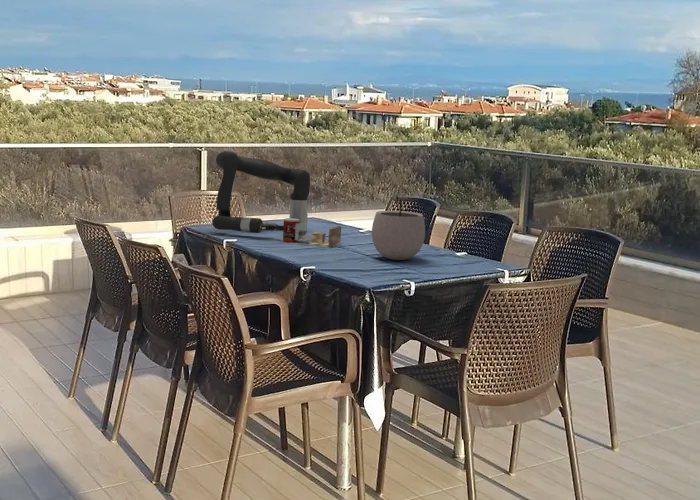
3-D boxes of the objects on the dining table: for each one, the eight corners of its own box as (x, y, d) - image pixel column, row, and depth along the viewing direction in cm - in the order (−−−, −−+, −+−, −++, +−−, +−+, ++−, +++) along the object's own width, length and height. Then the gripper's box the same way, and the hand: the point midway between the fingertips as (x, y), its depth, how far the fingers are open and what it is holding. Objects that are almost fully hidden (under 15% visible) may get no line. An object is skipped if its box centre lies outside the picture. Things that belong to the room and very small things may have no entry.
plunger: (294, 240, 397) (295, 223, 396) (301, 237, 406) (301, 221, 405) (318, 242, 394) (319, 226, 393) (324, 240, 403) (325, 223, 401)
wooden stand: (289, 243, 395) (290, 225, 394) (300, 239, 409) (300, 222, 408) (332, 248, 389) (333, 229, 388) (341, 243, 404) (342, 225, 402)
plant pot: (415, 255, 382) (420, 191, 377) (429, 264, 358) (434, 196, 354) (365, 254, 377) (369, 189, 373) (376, 263, 354) (380, 194, 349)
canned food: (280, 241, 400) (281, 219, 398) (286, 239, 408) (287, 217, 406) (295, 243, 398) (296, 220, 396) (300, 240, 406) (301, 219, 404)
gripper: (246, 219, 401) (279, 222, 396) (256, 216, 413) (288, 219, 408) (245, 234, 402) (278, 237, 397) (256, 231, 414) (288, 234, 410)
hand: (283, 228), depth 403 cm, fingers closed
